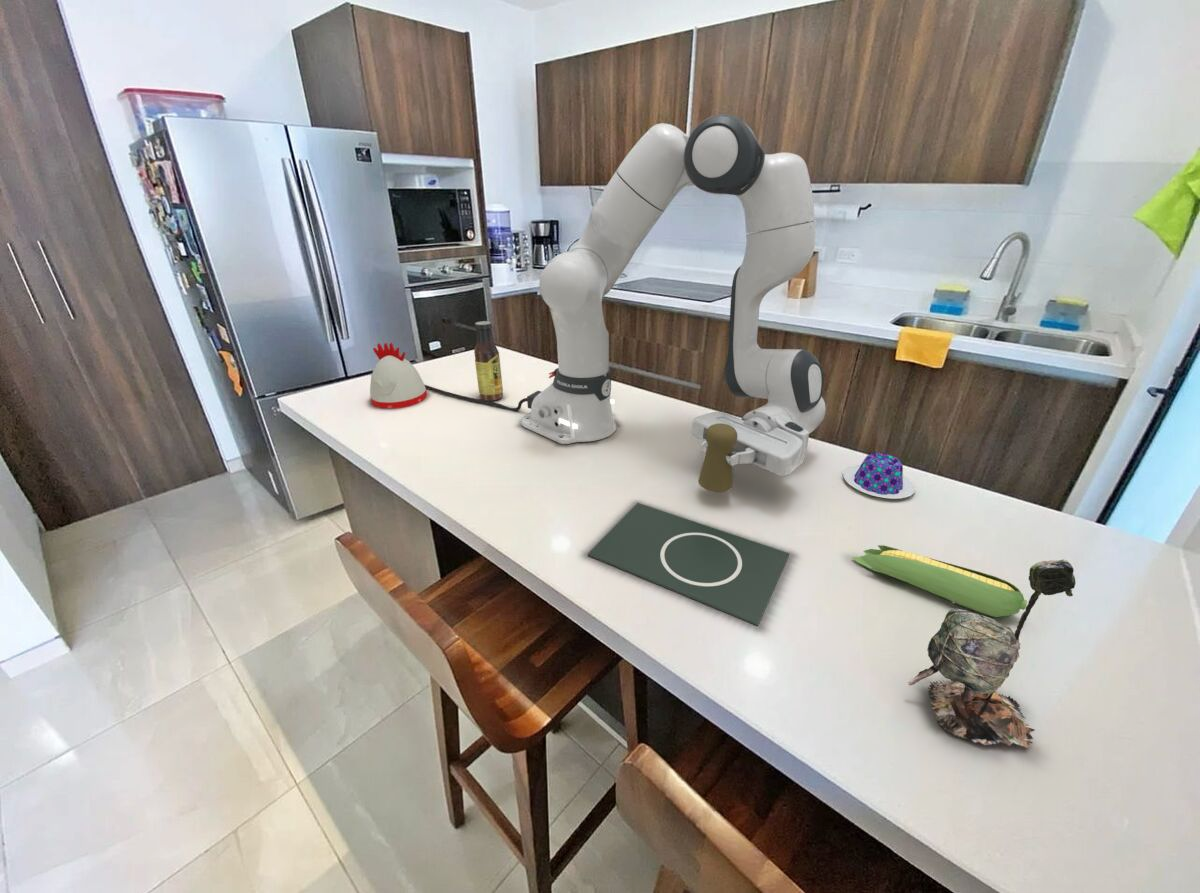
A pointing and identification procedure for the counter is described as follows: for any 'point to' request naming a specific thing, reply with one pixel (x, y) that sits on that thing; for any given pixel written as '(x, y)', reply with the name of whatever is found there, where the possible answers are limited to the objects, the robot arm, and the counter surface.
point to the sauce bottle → (487, 363)
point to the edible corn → (947, 581)
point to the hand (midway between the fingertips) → (716, 454)
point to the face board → (694, 560)
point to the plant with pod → (985, 666)
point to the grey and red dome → (395, 380)
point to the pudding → (880, 477)
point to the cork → (718, 458)
